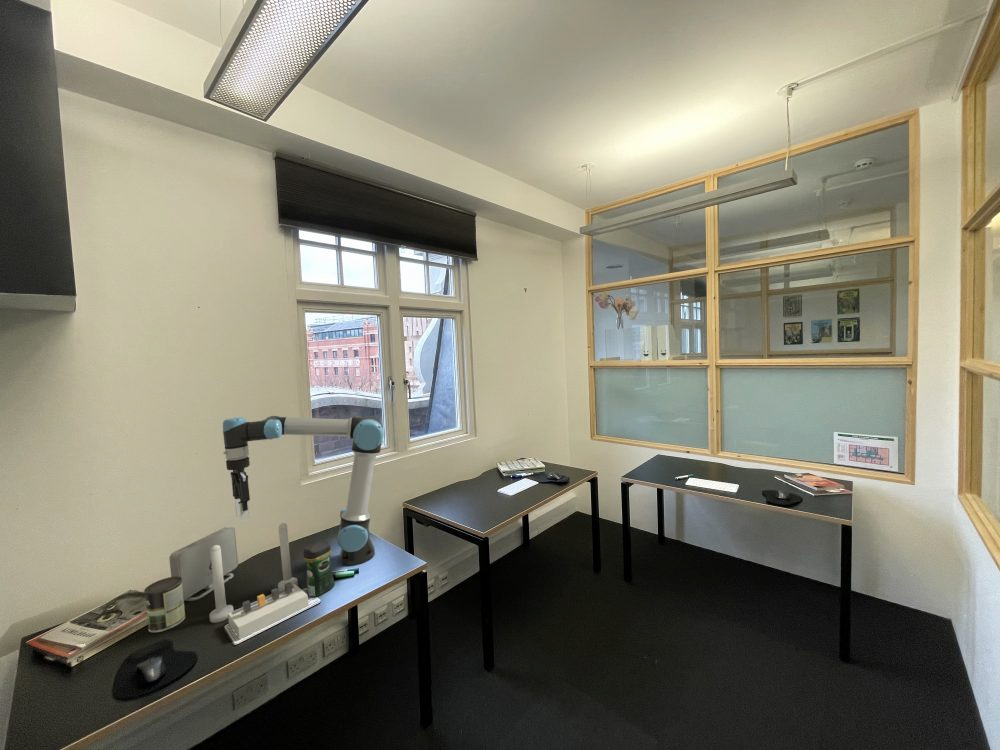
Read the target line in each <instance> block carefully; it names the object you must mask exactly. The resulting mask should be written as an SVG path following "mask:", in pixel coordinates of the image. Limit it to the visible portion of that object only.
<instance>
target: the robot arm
mask: <svg viewBox="0 0 1000 750" xmlns="http://www.w3.org/2000/svg"><path fill="white" fill-rule="evenodd" d="M383 428H384V427H383V424H382V422H381V421H380V420H379V419H377V418H376V417H373V416H362V417H361V416H360V417H359V416H357V417H354V416H352V417H350V418H348V419H345V418H343V419H342V418H320V417H296V416H295V417H294V416H293V417H291V416H290V417H288V416H280V415H279V416H278V415H270V416H267V417H266V418H265V419H262V420H257V421H247V420H246V418H245V417H243V416H242V417H232V418H227V419H224V420H223V422H222V434H223V444H224V451H223V455H225V459H226V460H225V463H226V464H225V465H226V467H225V468H226V470H227V471H230V478H231V487H232V497H234V498H233V499H234V502H235V503H234V504H235V514H236V515H235V516H236V517H240V521H241V520H242V521H243V520H245V519H246V520H247V519H249V518H250V507H249V501H250V500H251V497H250V496H251V495H250V487H249V475H248V474H247V472H246V471H245V468H248V467H250V465H251V463H250V457H249V455H250V453H249V451H250V450H249V443H248V442H253V441H263V440H264V441H265V440H266V441H267V440H274V439H279V438H280V437H282V436H286V435H287V436H316V437H317V436H319V437H320V436H322V437H323V436H324V437H347V438H348V439H350V440H352V445H351V452H352V453H353V454H354V455H353V457H354V458H353V461H352V462H353V464H352V470H351V475H350V481H349V489H348V495H347V502H346V507H343V508H341V510H340V511H339V512H340V513H339V518H340V523H339V529H338V534H337V536H336V537H337V538H336V539H337V544H338V546H339V547H340V548H341V549H340V552H339V563H340V564H342V565H346V566H355V565H360V564H361V565H362V564H364V563H366V562H368V561H370V560H371V559H373V558H374V557H375V555H376V549H375V545H374V543H373V541H372V539H371V536H370V535H371V534H370V522H371V521H370V520H371V514H370V513H369V503H370V498H371V497H370V496H371V490H372V485H373V483H372V482H373V477H374V471H375V464H376V457H377V456H378V455H379V454H380V453H381V449H382V442H383V440H384V436H385V435H384V433H385V432H384V429H383Z"/></svg>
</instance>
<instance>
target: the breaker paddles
mask: <svg viewBox="0 0 1000 750" xmlns="http://www.w3.org/2000/svg"><path fill="white" fill-rule="evenodd" d="M292 592H294V589H292V584H291V583H290V582H289V583H287V584H285V593H283V594H280V595H279V590H278V587H275V588H274V589H272V590H270V593H271V594H272V598H271V599H269V600H267V601H265V597H266V595H265V594H264V593H262V594H260V595H257V596H256V599H257V600H256V601H258V605H256V606H253V607H251V601H250V600H246V601H245V600H244V601H243V602H242V607H243V611H242V612H241V615H243V614H245V613H247V612H250V611H252V610H254V609H256V608H258V607H261V606H263V605H265V604H267V603H270V602H272V601H274V600H276V599H278V598H281V597H283V596H285V595H287V594H289V593H292ZM271 594H270V595H271Z"/></svg>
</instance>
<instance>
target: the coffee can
mask: <svg viewBox="0 0 1000 750" xmlns="http://www.w3.org/2000/svg"><path fill="white" fill-rule="evenodd" d="M143 592H144V597H145V608H146V614H147V615H146V616H147V617H146V618H147V624H148V625H147V626H148V627H147V628H148V629H147V630H148V632H150V633H153V634H154V633H161V632H165V631H167V630H170V629H173V628H174V627H176V626H178V625H180V624H181V623H182V622H184V620H185V619H186V611H185V601H184V598H183V588H182V578H181V577H171V576H169V577H165V578H162V579H159V580H157V581H155V582H152V583H151V584H149V585H148V586H147V587H145V589H144V590H143Z"/></svg>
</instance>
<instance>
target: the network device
mask: <svg viewBox="0 0 1000 750" xmlns="http://www.w3.org/2000/svg"><path fill="white" fill-rule="evenodd" d="M214 545H219V546H220V547H221V557H222V567H223V577H227V578H224V584H225V583H227V582H228V581H229V579H230V580H231V579H232V578H234V573H232V571H234V570H235V569H236V568H238V566H239V560H238V559H239V558H238V549H237V548H238V546H237V537H236V528H235V527H232V526H229V527H228V526H225V527H222V528H221V529H219V530H217V531H215V532H212V533H210V534H208V535H206V536H204V537H202V538H200V539H198V540H196V541H193V542H191V543H190V544H188V545H185V546H182V547H181V548H179V549H178V550H175V551H173V552H172V553H171V554H170V556H169V557H168V559H169V568H170V577H181V578H182V588H183V598H184V602H193V601H197V600H199V599H201V598H203V597H205V596H207V595H208V594H209V593H211V592H212V591H214V583H213V573H212V563H211V552H210V550H211V548H212V547H213V546H214ZM203 589H204V590H206V591H205V592H203V593H201V594H200V595H198V596H195V597H192V596H193V595H195V594H196V593H198V592H200V591H202V590H203Z"/></svg>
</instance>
